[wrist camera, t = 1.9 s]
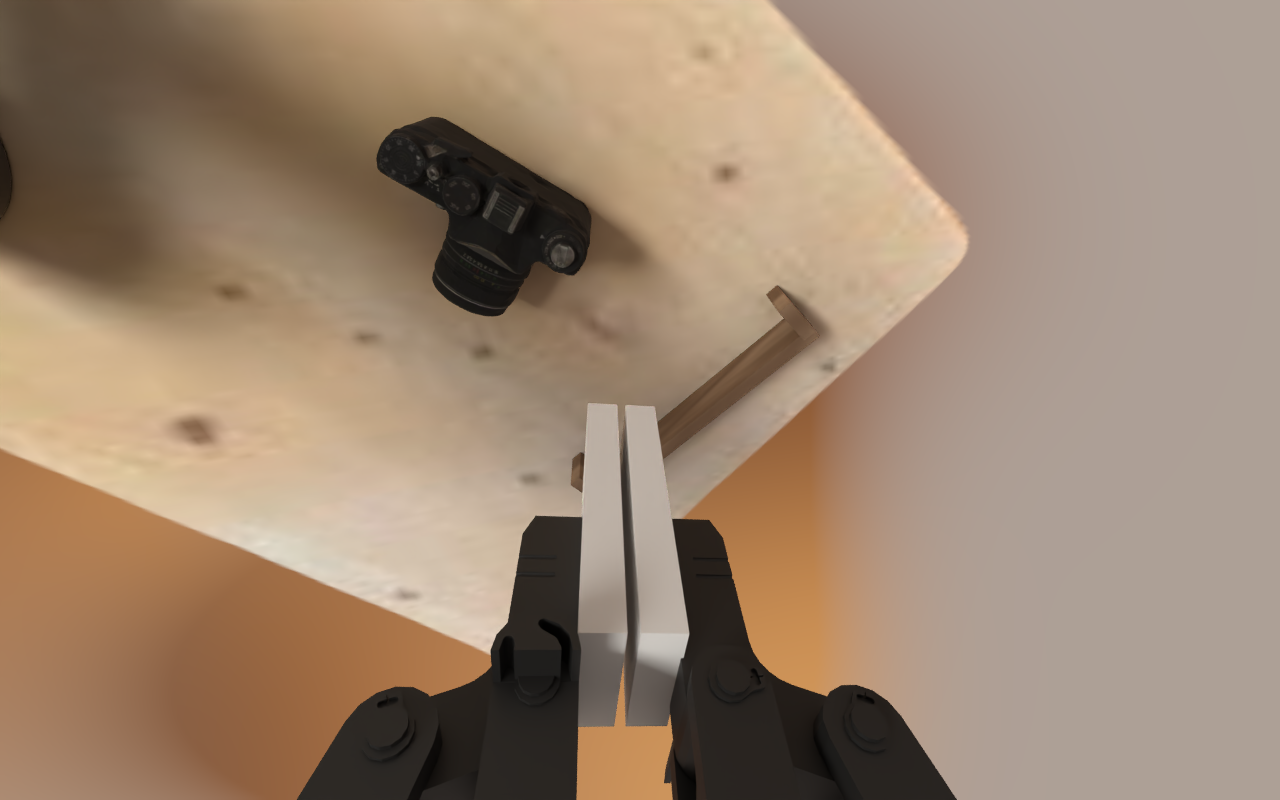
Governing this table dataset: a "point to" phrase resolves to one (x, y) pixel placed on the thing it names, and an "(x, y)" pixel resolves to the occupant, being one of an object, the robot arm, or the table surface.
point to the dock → (730, 380)
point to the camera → (486, 213)
